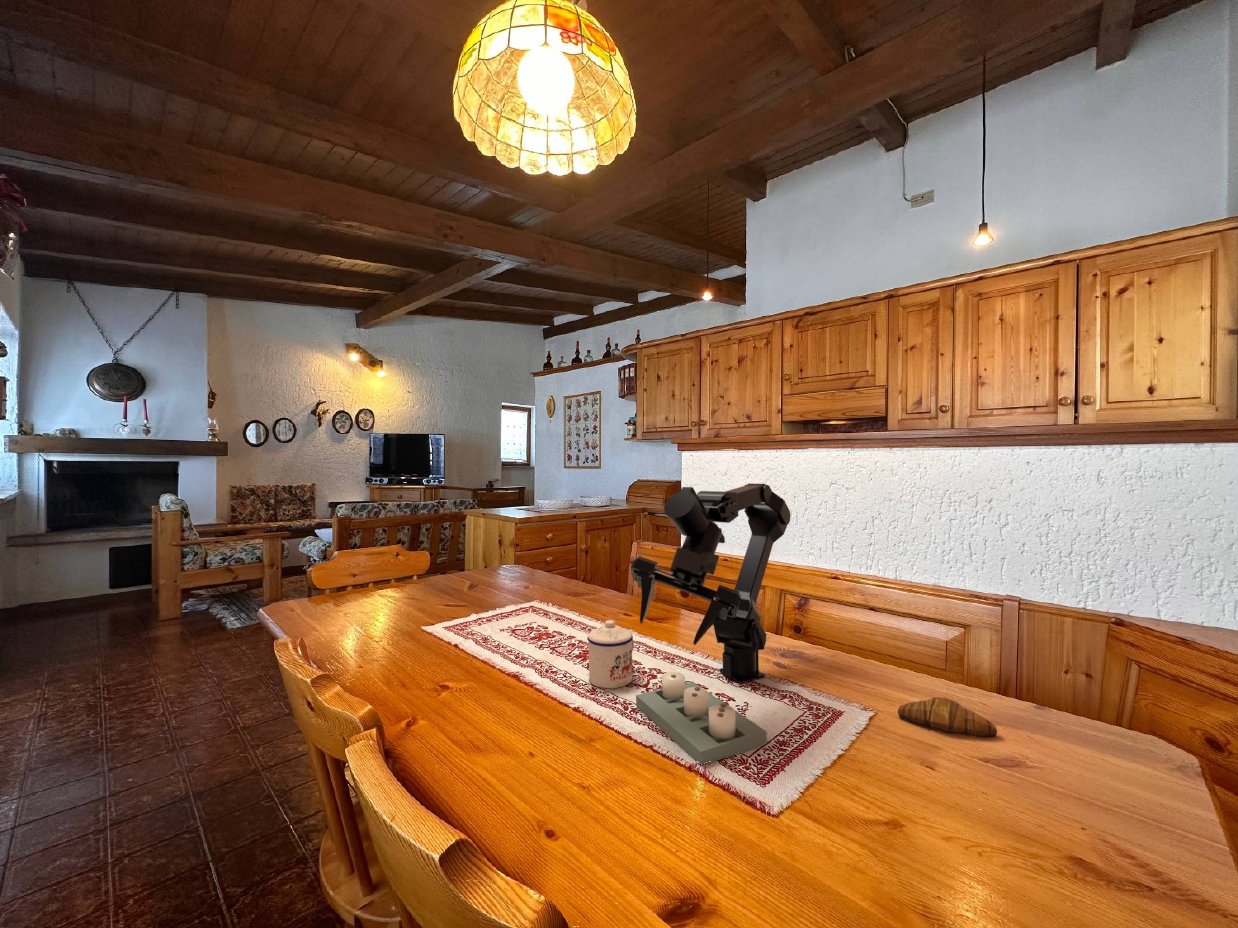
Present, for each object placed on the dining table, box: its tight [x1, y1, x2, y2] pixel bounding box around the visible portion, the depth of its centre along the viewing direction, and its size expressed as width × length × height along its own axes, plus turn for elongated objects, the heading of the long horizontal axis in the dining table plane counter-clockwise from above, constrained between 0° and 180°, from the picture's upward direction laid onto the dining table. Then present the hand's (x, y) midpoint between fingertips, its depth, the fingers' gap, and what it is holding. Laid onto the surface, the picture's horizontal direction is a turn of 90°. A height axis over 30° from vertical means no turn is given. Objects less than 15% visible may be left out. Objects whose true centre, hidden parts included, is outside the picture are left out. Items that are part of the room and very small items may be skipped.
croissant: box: [897, 696, 998, 739], centre depth 83 cm, size 14×7×5 cm, turn 60°
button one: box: [661, 671, 686, 700], centre depth 91 cm, size 4×4×3 cm
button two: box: [684, 687, 709, 718], centre depth 85 cm, size 4×4×3 cm
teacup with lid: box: [586, 619, 635, 689], centre depth 104 cm, size 12×9×12 cm
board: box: [635, 681, 767, 765], centre depth 85 cm, size 12×20×2 cm, turn 26°
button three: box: [709, 702, 736, 739], centre depth 79 cm, size 4×4×3 cm
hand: (667, 633), depth 83 cm, fingers open, 9 cm apart
